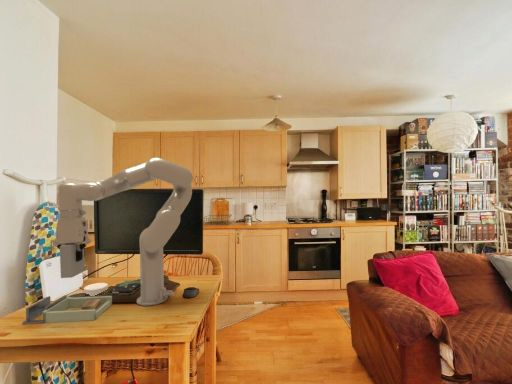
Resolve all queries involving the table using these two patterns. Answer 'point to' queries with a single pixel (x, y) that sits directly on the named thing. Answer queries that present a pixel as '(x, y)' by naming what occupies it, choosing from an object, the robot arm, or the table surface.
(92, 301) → the offcut upper
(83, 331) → the table surface
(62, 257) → the sheet
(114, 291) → the disk drive
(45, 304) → the stand
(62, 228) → the robot arm
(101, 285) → the white fluted dish
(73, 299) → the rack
